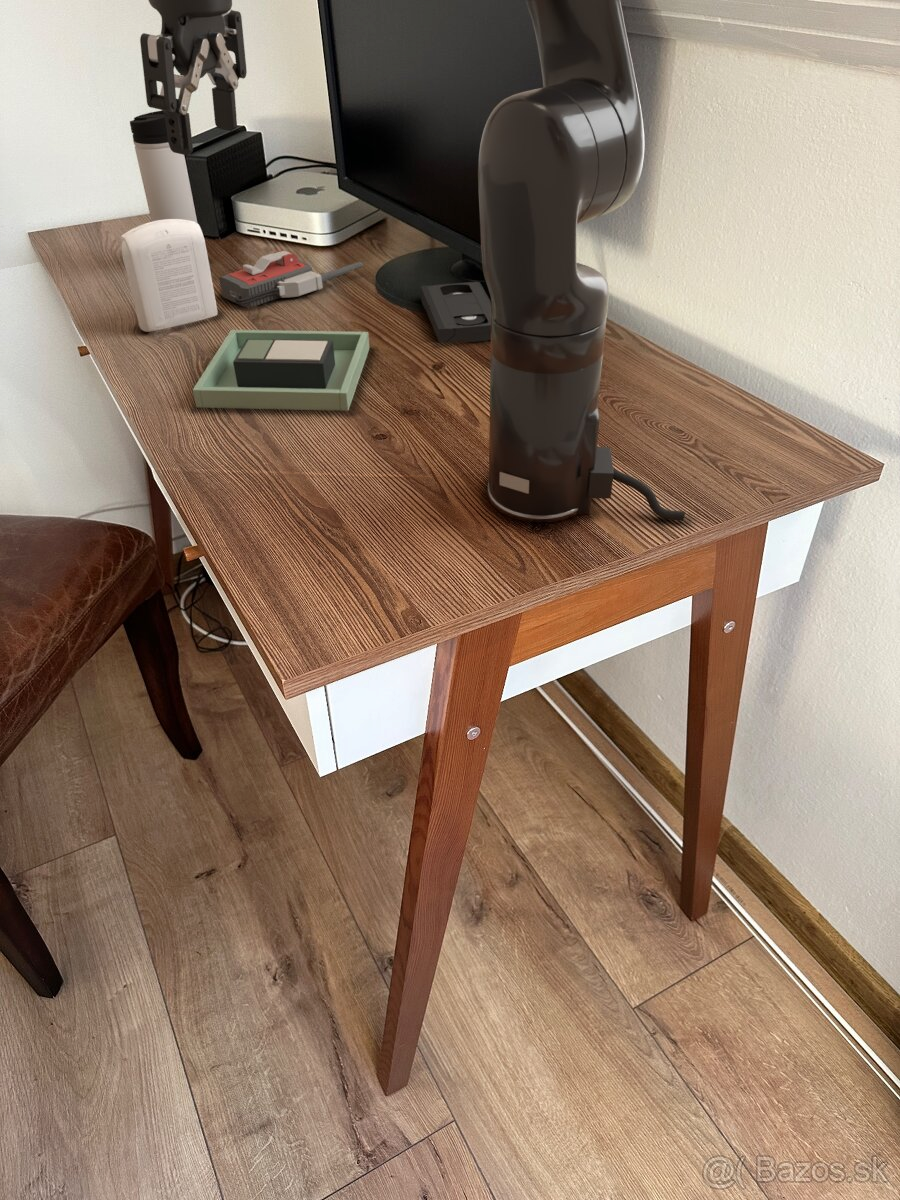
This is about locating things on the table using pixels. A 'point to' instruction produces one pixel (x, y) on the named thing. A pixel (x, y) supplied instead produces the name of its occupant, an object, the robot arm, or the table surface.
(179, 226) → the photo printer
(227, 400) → the tray
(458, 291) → the vhs tape
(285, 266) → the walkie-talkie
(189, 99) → the robot arm
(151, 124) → the travel mug
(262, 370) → the black rectangular box
